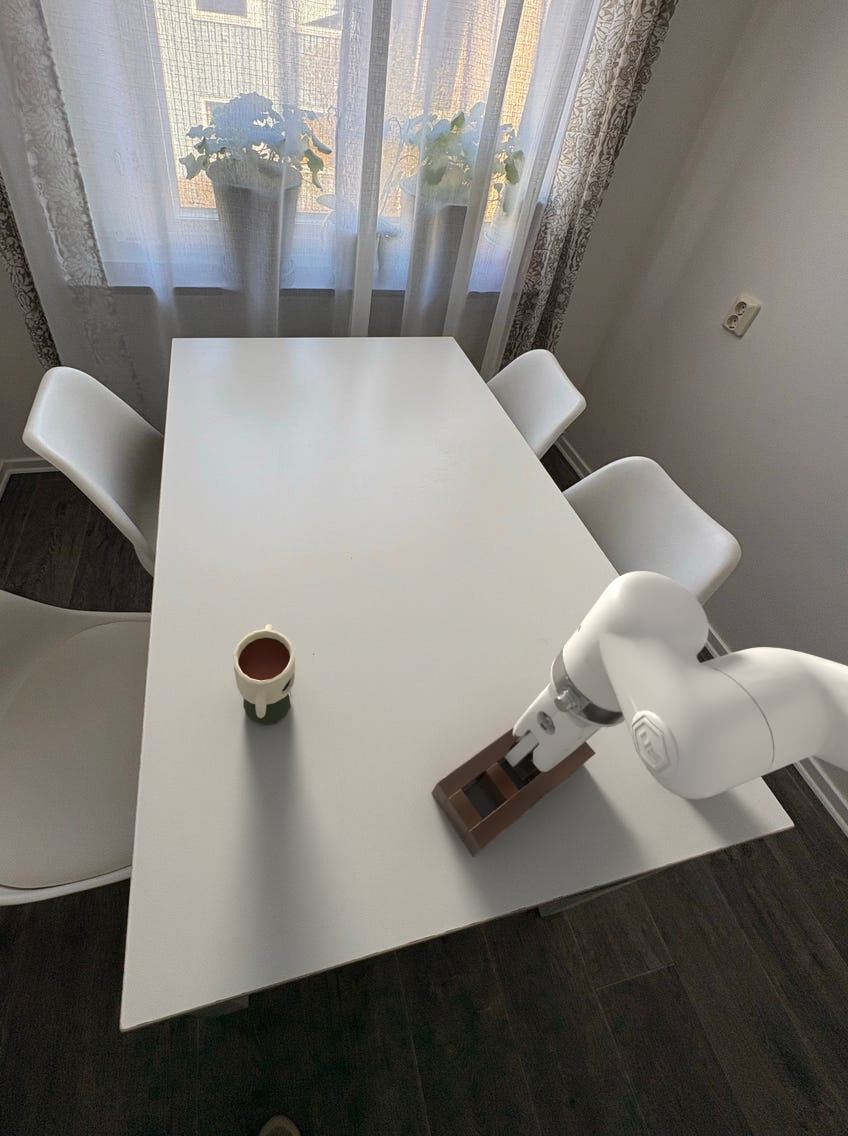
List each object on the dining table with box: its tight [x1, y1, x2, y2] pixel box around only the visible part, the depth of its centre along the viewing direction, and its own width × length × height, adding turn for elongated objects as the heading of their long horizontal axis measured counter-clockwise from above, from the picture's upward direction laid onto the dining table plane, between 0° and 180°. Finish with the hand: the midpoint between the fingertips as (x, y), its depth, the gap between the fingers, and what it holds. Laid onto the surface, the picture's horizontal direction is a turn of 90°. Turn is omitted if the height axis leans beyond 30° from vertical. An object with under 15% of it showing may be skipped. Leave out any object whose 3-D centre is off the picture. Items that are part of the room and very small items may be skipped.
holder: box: [431, 726, 596, 857], centre depth 66 cm, size 8×19×4 cm, turn 123°
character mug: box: [232, 623, 296, 725], centre depth 66 cm, size 11×7×13 cm, turn 2°
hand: (532, 751), depth 61 cm, fingers closed on peg, 3 cm apart
